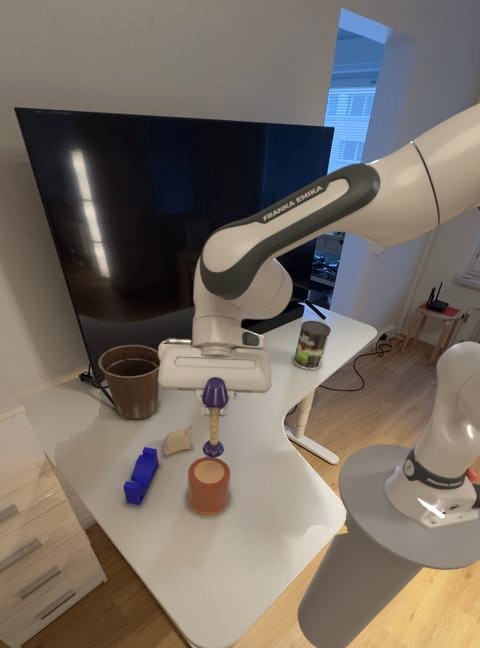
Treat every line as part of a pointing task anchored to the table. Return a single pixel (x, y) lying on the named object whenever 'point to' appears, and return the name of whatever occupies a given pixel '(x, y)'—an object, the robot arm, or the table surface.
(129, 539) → the table surface
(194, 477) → the cup
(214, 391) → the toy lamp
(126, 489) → the blue notched block
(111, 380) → the plant pot
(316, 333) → the coffee can
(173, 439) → the decorative ornament
